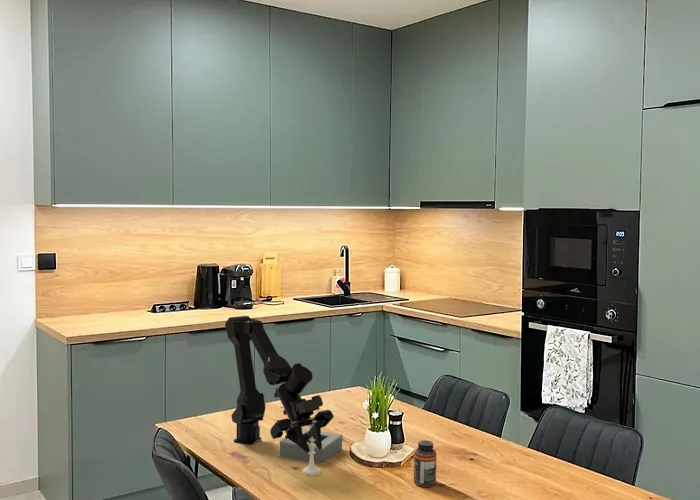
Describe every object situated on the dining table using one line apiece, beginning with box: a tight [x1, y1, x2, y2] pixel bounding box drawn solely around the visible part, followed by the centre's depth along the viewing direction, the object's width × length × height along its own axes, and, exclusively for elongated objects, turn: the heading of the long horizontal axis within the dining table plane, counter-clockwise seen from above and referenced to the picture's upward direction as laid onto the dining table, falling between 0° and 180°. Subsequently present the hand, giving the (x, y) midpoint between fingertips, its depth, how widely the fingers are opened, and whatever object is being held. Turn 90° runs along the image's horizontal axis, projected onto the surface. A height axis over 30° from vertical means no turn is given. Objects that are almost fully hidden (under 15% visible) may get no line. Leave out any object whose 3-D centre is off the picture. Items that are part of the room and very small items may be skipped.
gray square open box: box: [279, 427, 343, 465], centre depth 209 cm, size 14×14×4 cm
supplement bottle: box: [413, 439, 438, 488], centre depth 187 cm, size 6×6×11 cm
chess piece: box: [302, 437, 321, 477], centre depth 193 cm, size 5×5×10 cm
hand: (314, 450), depth 192 cm, fingers open, 4 cm apart
